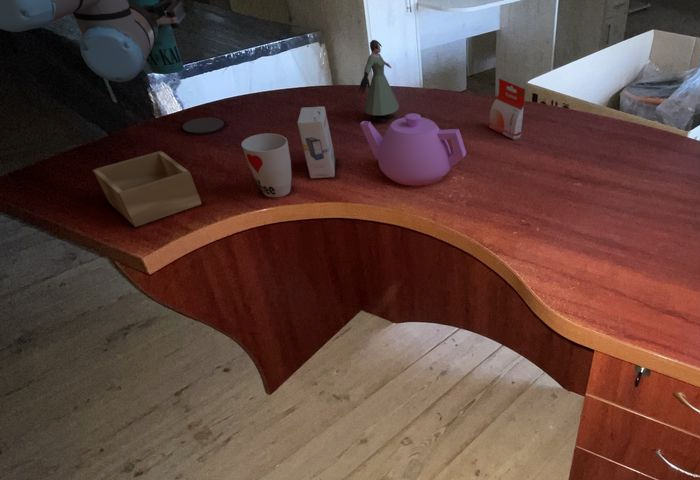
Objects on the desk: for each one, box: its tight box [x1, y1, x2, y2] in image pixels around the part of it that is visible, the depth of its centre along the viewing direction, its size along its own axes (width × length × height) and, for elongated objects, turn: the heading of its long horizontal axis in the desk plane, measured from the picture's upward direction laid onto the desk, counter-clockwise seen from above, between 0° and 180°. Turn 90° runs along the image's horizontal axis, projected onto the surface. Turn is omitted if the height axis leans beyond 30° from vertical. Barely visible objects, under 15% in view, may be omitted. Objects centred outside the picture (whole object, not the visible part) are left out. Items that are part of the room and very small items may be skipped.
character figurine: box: [358, 39, 400, 123], centre depth 129 cm, size 16×8×18 cm, turn 163°
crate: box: [92, 150, 202, 228], centre depth 100 cm, size 12×12×6 cm
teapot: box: [359, 112, 467, 187], centre depth 112 cm, size 22×16×12 cm
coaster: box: [182, 116, 225, 135], centre depth 127 cm, size 9×9×1 cm
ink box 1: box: [297, 105, 336, 179], centre depth 111 cm, size 9×5×12 cm, turn 10°
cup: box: [241, 133, 293, 198], centre depth 104 cm, size 8×8×10 cm
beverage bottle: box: [127, 0, 185, 75], centre depth 104 cm, size 6×7×20 cm
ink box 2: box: [488, 78, 526, 140], centre depth 129 cm, size 3×9×12 cm, turn 42°
